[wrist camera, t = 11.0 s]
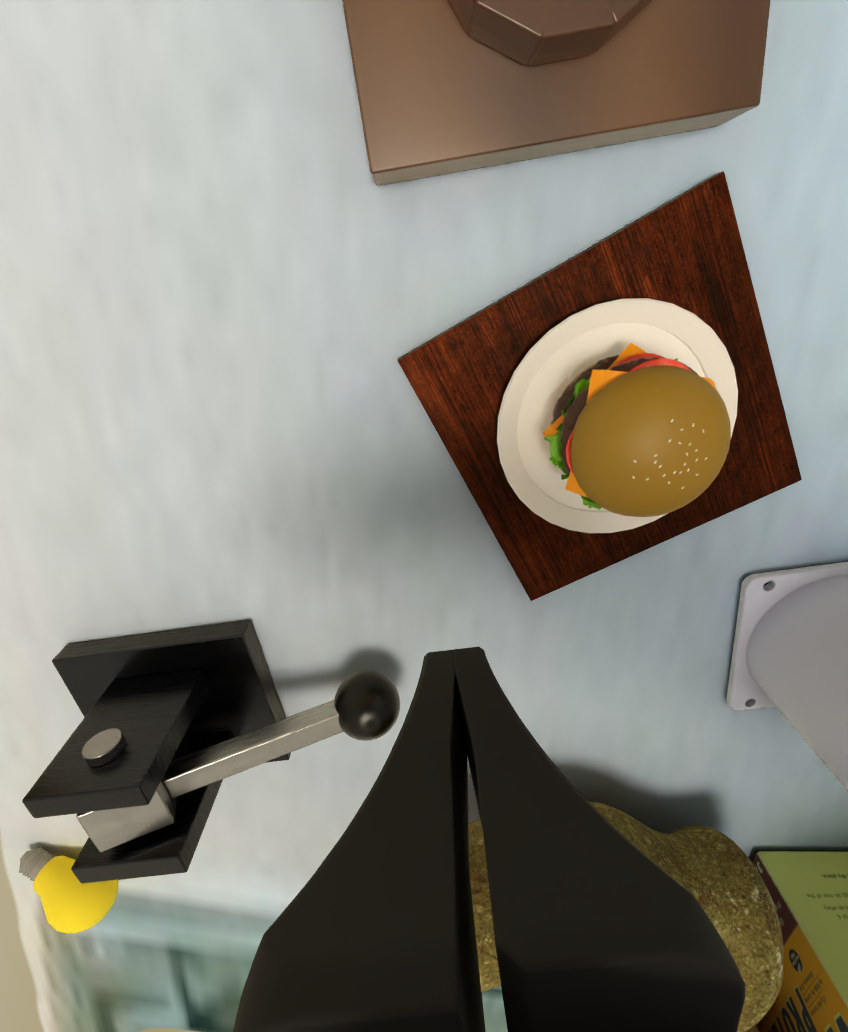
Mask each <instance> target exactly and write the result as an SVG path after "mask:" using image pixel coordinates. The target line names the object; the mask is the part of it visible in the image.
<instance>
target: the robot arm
mask: <svg viewBox="0 0 848 1032" xmlns="http://www.w3.org/2000/svg"><path fill="white" fill-rule="evenodd" d="M768 581H769V583H768V584H767V585H765V586H764V584H765V583H766V582H768ZM726 701H727V704H728V705H729V707H730V708H731V709H732V710H735V711H741V710H749V709H758V708H766V707H775V706H776V707H777V708H778V709H779V710H780V711H781V713H782V714H783V715H784V716H785V717H786V718H787V720H788V721H789V722H790V723H791V724H792V726H793V727H794V728H795V729H796V730H797V732H798V733H799V734H800V735H801V736H802V738H803V739H804V740H805V741H806V742H807V743H808V745H809V746H810V747H811V748H812V749H813V751H814V752H815V753H816V754H817V755H818V757H819V758H820V759H821V760H822V761H823V763H824V764H825V765H826V766H827V767H828V768H829V770H830V771H831V772H832V773H833V774H834V776H835V777H836V778H837V779H838V780H839V782H840V783H841V784H842V785H843V786H844V787H845V789H846V790H847V791H848V562H842V563H834V564H826V565H819V566H811V567H804V568H796V569H788V570H781V571H773V572H766V573H758V574H753V575H750V576H748V577H746V578H745V579H744V581H743V583H742V586H741V594H740V601H739V609H738V616H737V624H736V631H735V639H734V647H733V654H732V662H731V669H730V677H729V684H728V692H727V699H726ZM467 756H468V761H469V766H470V771H471V776H472V781H473V786H474V791H475V796H476V800H477V805H478V810H479V815H480V820H481V825H482V830H483V837H484V846H485V855H486V864H487V873H488V882H489V892H490V901H491V910H492V919H493V928H494V938H495V947H496V953H497V960H498V967H499V974H500V980H501V987H502V994H503V1001H504V1008H505V1014H506V1021H507V1029H508V1032H737V1029H738V1025H739V1021H740V1017H741V1013H742V1009H743V1005H744V1001H745V983H744V981H743V978H742V976H741V974H740V972H739V969H738V967H737V965H736V963H735V961H734V959H733V957H732V955H731V954H730V952H729V950H728V948H727V947H726V945H725V943H724V941H723V940H722V938H721V936H720V935H719V933H718V932H717V930H716V928H715V927H714V925H713V924H712V922H711V920H710V919H709V917H708V916H707V914H706V913H705V911H704V910H703V908H702V907H701V906H700V904H699V903H698V901H697V900H696V898H695V897H694V896H693V894H692V893H691V892H689V891H688V890H687V889H686V888H684V887H683V886H682V885H681V884H679V883H678V882H677V881H676V880H674V879H673V878H672V877H671V876H669V875H668V874H667V873H666V872H664V871H663V870H662V869H661V868H660V867H659V866H657V865H656V864H655V863H654V862H653V861H651V860H650V859H649V858H648V857H647V856H645V855H644V854H643V853H642V852H641V851H640V850H639V849H638V848H636V847H635V846H634V845H633V844H632V843H631V842H630V841H629V840H628V839H626V838H625V837H624V836H623V835H622V834H621V833H620V832H619V831H618V830H617V829H616V828H615V827H614V826H613V825H612V824H611V823H610V822H608V821H607V820H606V819H605V818H604V817H603V816H602V815H601V814H600V813H599V812H598V811H597V810H596V809H595V808H594V807H593V806H592V805H591V804H590V803H589V802H588V801H587V800H586V799H585V798H584V797H583V796H582V795H581V794H580V792H579V791H578V790H577V789H576V788H575V787H574V786H573V785H572V784H571V783H570V781H569V780H568V779H567V778H566V777H565V776H564V775H563V774H562V772H561V771H560V770H559V769H558V768H557V767H556V765H555V764H554V763H553V762H552V761H551V759H550V758H549V757H548V756H547V754H546V753H545V752H544V751H543V749H542V748H541V747H540V746H539V744H538V743H537V742H536V740H535V739H534V737H533V736H532V735H531V733H530V732H529V731H528V729H527V728H526V727H525V725H524V724H523V722H522V721H521V719H520V718H519V716H518V715H517V713H516V712H515V710H514V708H513V707H512V705H511V704H510V702H509V701H508V699H507V697H506V696H505V694H504V692H503V691H502V689H501V687H500V685H499V684H498V682H497V680H496V678H495V676H494V674H493V672H492V670H491V668H490V666H489V663H488V661H487V658H486V656H485V653H484V650H483V649H481V648H480V647H472V648H464V649H455V650H447V651H438V652H430V653H427V654H426V656H425V657H424V660H423V666H422V670H421V674H420V678H419V682H418V685H417V688H416V691H415V694H414V697H413V700H412V703H411V705H410V708H409V711H408V713H407V716H406V719H405V721H404V724H403V726H402V728H401V731H400V733H399V735H398V737H397V739H396V742H395V744H394V746H393V748H392V751H391V753H390V755H389V757H388V759H387V761H386V763H385V765H384V767H383V769H382V771H381V773H380V774H379V776H378V778H377V780H376V782H375V784H374V785H373V787H372V789H371V791H370V792H369V794H368V796H367V797H366V799H365V801H364V802H363V804H362V806H361V807H360V809H359V810H358V812H357V814H356V815H355V817H354V818H353V820H352V822H351V823H350V825H349V826H348V828H347V829H346V831H345V832H344V834H343V835H342V837H341V838H340V840H339V841H338V842H337V844H336V845H335V846H334V848H333V849H332V850H331V852H330V853H329V854H328V856H327V857H326V859H325V860H324V861H323V863H322V864H321V865H320V867H319V868H318V869H317V871H316V872H315V874H314V875H313V876H312V877H311V879H310V880H309V881H308V883H307V884H306V885H305V886H304V888H303V889H302V890H301V891H300V892H299V894H298V895H297V896H296V897H295V898H294V899H293V901H292V902H291V903H290V904H289V905H288V907H287V908H286V909H285V910H284V911H283V912H282V914H281V915H280V916H279V917H278V918H277V919H276V921H275V922H274V923H273V924H272V925H271V927H270V928H269V929H268V930H267V931H266V932H265V934H264V935H263V938H262V940H261V942H260V945H259V947H258V950H257V953H256V955H255V958H254V960H253V963H252V966H251V969H250V972H249V975H248V978H247V980H246V983H245V986H244V989H243V993H242V996H241V999H240V1004H239V1008H238V1012H237V1017H236V1021H235V1025H234V1030H233V1032H485V1022H484V1012H483V1002H482V993H481V983H480V973H479V963H478V952H477V942H476V932H475V922H474V912H473V901H472V891H471V881H470V865H469V829H468V767H467Z"/></svg>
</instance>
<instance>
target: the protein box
mask: <svg viewBox="0 0 848 1032" xmlns="http://www.w3.org/2000/svg"><path fill="white" fill-rule="evenodd" d="M752 863H753V865H754V866H755V867H756V869H757V871H758V872H759V874H760V876H761V877H762V879H763V881H764V883H765V885H766V887H767V888H768V891H769V893H770V895H771V897H772V900H773V902H774V905H775V908H776V911H777V914H778V917H779V921H780V925H781V930H782V939H783V949H784V970H783V979H782V984H781V988H780V992H779V994H778V996H777V998H776V1000H775V1002H774V1004H773V1005H772V1007H771V1008H770V1009H769V1011H768V1012H767V1013H766V1015H765V1016H764V1017H763V1018H762V1019H761V1020H760V1021H759V1022H758V1023H757V1024H756V1025H757V1028H758V1029H759V1031H760V1032H848V852H808V851H760V852H757V854H756V856H755V858H754V861H753V862H752Z"/></svg>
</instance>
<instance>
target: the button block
mask: <svg viewBox="0 0 848 1032" xmlns="http://www.w3.org/2000/svg"><path fill="white" fill-rule="evenodd" d="M342 1H343V7H344V14H345V20H346V26H347V32H348V38H349V44H350V50H351V56H352V63H353V69H354V75H355V81H356V87H357V93H358V99H359V105H360V112H361V118H362V124H363V130H364V136H365V142H366V148H367V154H368V160H369V167H370V172H371V174H372V177H373V179H374V181H375V184H376V185H377V186H380V185H386V184H392V183H397V182H403V181H409V180H414V179H420V178H426V177H431V176H437V175H443V174H449V173H454V172H460V171H466V170H471V169H477V168H483V167H488V166H494V165H500V164H505V163H511V162H517V161H523V160H528V159H534V158H540V157H545V156H551V155H557V154H562V153H568V152H574V151H579V150H585V149H591V148H597V147H602V146H608V145H614V144H619V143H625V142H631V141H636V140H642V139H648V138H653V137H659V136H665V135H671V134H676V133H682V132H688V131H693V130H699V129H705V128H710V127H716V126H719V125H721V124H723V123H725V122H727V121H729V120H731V119H733V118H735V117H736V116H738V115H740V114H742V113H744V112H746V111H748V110H750V109H752V108H754V107H756V106H758V105H759V103H760V95H761V85H762V76H763V66H764V56H765V46H766V37H767V27H768V17H769V7H770V0H342Z"/></svg>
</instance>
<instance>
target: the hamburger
mask: <svg viewBox="0 0 848 1032" xmlns="http://www.w3.org/2000/svg"><path fill="white" fill-rule="evenodd" d="M398 362H399V364H400V366H401V368H402V369H403V371H404V373H405V375H406V377H407V378H408V380H409V382H410V384H411V386H412V387H413V389H414V391H415V393H416V395H417V396H418V398H419V400H420V402H421V404H422V405H423V407H424V409H425V411H426V413H427V414H428V416H429V418H430V420H431V422H432V423H433V425H434V427H435V429H436V431H437V432H438V434H439V436H440V438H441V440H442V441H443V443H444V445H445V447H446V449H447V450H448V452H449V454H450V456H451V458H452V459H453V461H454V463H455V465H456V467H457V468H458V470H459V472H460V474H461V476H462V477H463V479H464V481H465V483H466V485H467V486H468V488H469V490H470V492H471V494H472V496H473V497H474V499H475V501H476V503H477V505H478V506H479V508H480V510H481V512H482V514H483V515H484V517H485V519H486V521H487V523H488V524H489V526H490V528H491V530H492V532H493V533H494V535H495V537H496V539H497V541H498V542H499V544H500V546H501V548H502V550H503V551H504V553H505V555H506V557H507V559H508V560H509V562H510V564H511V566H512V568H513V569H514V571H515V573H516V575H517V577H518V578H519V580H520V582H521V584H522V586H523V587H524V589H525V591H526V593H527V595H528V596H529V598H530V600H531V601H532V600H534V599H537V598H539V597H541V596H543V595H545V594H548V593H550V592H552V591H554V590H557V589H559V588H561V587H563V586H566V585H568V584H570V583H572V582H574V581H577V580H579V579H581V578H583V577H586V576H588V575H590V574H592V573H595V572H597V571H599V570H601V569H604V568H606V567H608V566H610V565H612V564H615V563H617V562H619V561H621V560H624V559H626V558H628V557H630V556H633V555H635V554H637V553H639V552H641V551H644V550H646V549H648V548H650V547H653V546H655V545H657V544H659V543H662V542H664V541H666V540H668V539H671V538H673V537H675V536H677V535H679V534H682V533H684V532H686V531H688V530H691V529H693V528H695V527H697V526H700V525H702V524H704V523H706V522H708V521H711V520H713V519H715V518H717V517H720V516H722V515H724V514H726V513H729V512H731V511H733V510H735V509H738V508H740V507H742V506H744V505H746V504H749V503H751V502H753V501H755V500H758V499H760V498H762V497H764V496H767V495H769V494H771V493H773V492H775V491H778V490H780V489H782V488H784V487H787V486H789V485H791V484H793V483H796V482H798V481H800V480H802V479H801V475H800V471H799V467H798V463H797V459H796V455H795V451H794V448H793V444H792V440H791V436H790V432H789V428H788V424H787V420H786V416H785V412H784V408H783V404H782V400H781V396H780V392H779V388H778V384H777V380H776V376H775V372H774V368H773V364H772V360H771V356H770V352H769V348H768V344H767V340H766V337H765V333H764V329H763V325H762V321H761V317H760V313H759V309H758V305H757V301H756V297H755V293H754V289H753V285H752V281H751V277H750V273H749V269H748V265H747V261H746V257H745V253H744V249H743V245H742V241H741V237H740V233H739V230H738V226H737V222H736V218H735V214H734V210H733V206H732V202H731V198H730V194H729V190H728V186H727V182H726V178H725V174H724V172H721V173H718V174H715V175H714V176H712V177H710V178H709V179H707V180H705V181H703V182H702V183H700V184H698V185H696V186H695V187H693V188H691V189H690V190H688V191H686V192H684V193H683V194H681V195H679V196H678V197H676V198H674V199H672V200H671V201H669V202H667V203H665V204H664V205H662V206H660V207H659V208H657V209H655V210H653V211H652V212H650V213H648V214H647V215H645V216H643V217H641V218H640V219H638V220H636V221H634V222H633V223H631V224H629V225H628V226H626V227H624V228H622V229H621V230H619V231H617V232H615V233H614V234H612V235H610V236H609V237H607V238H605V239H603V240H602V241H600V242H598V243H597V244H595V245H593V246H591V247H590V248H588V249H586V250H584V251H583V252H581V253H579V254H578V255H576V256H574V257H572V258H571V259H569V260H567V261H566V262H564V263H562V264H560V265H559V266H557V267H555V268H553V269H552V270H550V271H548V272H547V273H545V274H543V275H541V276H540V277H538V278H536V279H534V280H533V281H531V282H529V283H528V284H526V285H524V286H522V287H521V288H519V289H517V290H516V291H514V292H512V293H510V294H509V295H507V296H505V297H503V298H502V299H500V300H498V301H497V302H495V303H493V304H491V305H490V306H488V307H486V308H484V309H483V310H481V311H479V312H478V313H476V314H474V315H472V316H471V317H469V318H467V319H466V320H464V321H462V322H460V323H459V324H457V325H455V326H453V327H452V328H450V329H448V330H447V331H445V332H443V333H441V334H440V335H438V336H436V337H435V338H433V339H431V340H429V341H428V342H426V343H424V344H422V345H421V346H419V347H417V348H416V349H414V350H412V351H410V352H409V353H407V354H405V355H403V356H402V357H400V358H398Z"/></svg>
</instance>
